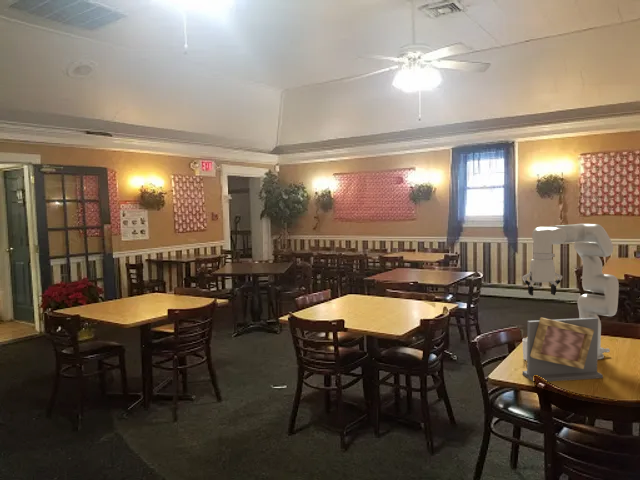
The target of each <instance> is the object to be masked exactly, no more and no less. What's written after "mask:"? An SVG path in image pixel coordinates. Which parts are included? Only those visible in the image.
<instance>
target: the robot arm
mask: <svg viewBox="0 0 640 480" xmlns="http://www.w3.org/2000/svg"><path fill="white" fill-rule="evenodd" d="M531 237H532V241H533V243H532V244H533V246H532V247H533V249H532V250H533V251H532V252H533V255H532V256H533V257H532V259H531V260H530V262H529V263H530V264H529V270H528V273H526V274H524V275H523V276H521V278H522V281H523V282H524V284H526V286H527V288H528V289H527V293H528V295H530V296H534V286H533V285H534V284H535V283H550V284H551V285H550V294H551V295H553V296H556V293H557V287H558V285H559V284H560V283H561V280H563V275H562V274H559V273H557V272H556V269H555V268H556V267H555V263H554V259H553V257H554V258H555V257H556V254H555V253H553V245H561V244H570V243H574V244H573V246H574V250H575V252H576V253H577V254H578V256H579V257H580V258H581V261H582V278H581V279H582V280H581V282H582V283H581V284H582V289H583V290H585V291H586V292H593V293H599V294H604V295H599V294H592V293H584V294H581V295H579V297H578V299H577V308H578V314H579V317H578V318H598V349H597V361H598V360H603V359H604V357H605V356H604V354H605V353H610V351H611V350H610V348H604V347H601V346H602V345H601V344H602V341H601V340H602V337H601V336H602V335H601V334H602V321H601V320H600V317H599V316H605V317H613V316H615V315H616V314H617V311H618V305H619V292H620V290H619V288H620V287H619V285H620V284H619V279H618V278H617V277H616V275H614V274H607V273H603V262H602V259H601V257H604V258H607V257H610V256H611V255H612V253H613V252H614V245H613V242H612V240H611V238H610V236H609V234H608V232H607V231H606V230H605V228H604V227H603V226H602V225H601V224H598V223H576V224H562V225H560V224H559V225H549V226H538V227H535V228H534V230H532V233H531ZM556 277H557V279H556Z"/></svg>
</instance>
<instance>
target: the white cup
mask: <svg viewBox="0 0 640 480" xmlns="http://www.w3.org/2000/svg"><path fill="white" fill-rule="evenodd" d="M522 357H523V360H524V361H526V362H527V337H523V338H522Z"/></svg>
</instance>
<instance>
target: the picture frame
mask: <svg viewBox="0 0 640 480" xmlns="http://www.w3.org/2000/svg"><path fill="white" fill-rule="evenodd" d="M539 320H540V321H539V325H538V328H537V332H536V336H535V339H534V343H533V347H532V351H531V354H530V356H531V357H532V358H535V359H540V360H544V361H549V362H553V363H558V364H563V365H567V366H572V367H576V368H581V369H584V365H585V362H586V358H587V354H588V351H589V347H590V343H591V340H592V336H593V333H594V330H593V329H590V328H586V327H581V326H577V325H573V324H568V323H564V322H559V321H555V320H556V319H550V318H546V317H540V318H539Z"/></svg>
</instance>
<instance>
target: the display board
mask: <svg viewBox="0 0 640 480" xmlns="http://www.w3.org/2000/svg"><path fill="white" fill-rule="evenodd" d="M554 320H555V321H559V322H564V323H568V324H573V325H577V326H581V327H586V328H590V329H593V330H594V333H593V336H592V340H591V343H590V347H589V351H588V354H587V358H586V362H585V365H584V369H581V368H576V367H572V366H567V365H563V364H558V363H553V362H549V361H544V360H540V359H535V358H532V357H531V356H530V354H531V351H532V347H533V343H534V339H535V336H536V332H537V328H538V325H539V321H540V319H539V320H536V319H535V320H527V322H526V323H527V324H526V325H527V333H526V334H527V335H526V338H527V361H526V370H522V375H523V376H524V377H526V378H528V379H529V380H530V381H531V380H532V382H533V376H534V375H538V376H540V377H542V378H544V379H545V380H547V381H546V382H558V381H560V382H561V381H576V380H594V379H595V380H596V379H603V377H604V376H603V374H602V373H601V372H598V360H597V349H598V318H579V317H578V318H560V319H559V318H558V319H554Z"/></svg>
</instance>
